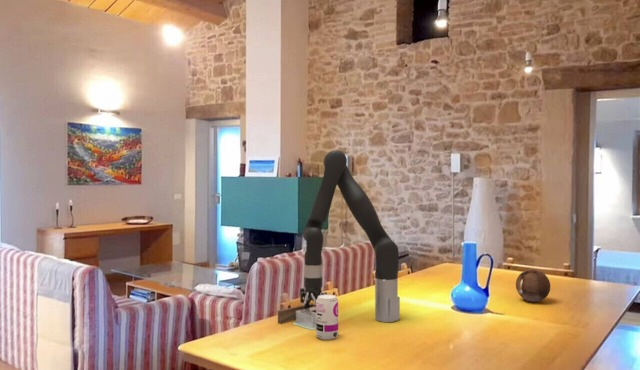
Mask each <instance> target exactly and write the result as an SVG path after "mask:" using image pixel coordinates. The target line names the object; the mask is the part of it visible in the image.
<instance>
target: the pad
mask: <svg viewBox="0 0 640 370" xmlns="http://www.w3.org/2000/svg"><path fill="white" fill-rule="evenodd" d="M291 325H292V326H296V327H300V328H303V329H306V330H309V331H316V330H315V329H316V328H313V329H312V328H309V327H306V326H303V325H299V324H296V322H292V323H291Z"/></svg>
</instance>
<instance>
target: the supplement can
mask: <svg viewBox="0 0 640 370" xmlns="http://www.w3.org/2000/svg"><path fill="white" fill-rule="evenodd" d="M315 331H316V337H317V338H318V339H320V340H324V341H329V340H330V341H331V340H334V339H337V337H338V336H339V299H338V297H337V295H334V294H328V293H327V294H326V295H319V296H318V298H317V300H316V330H315Z"/></svg>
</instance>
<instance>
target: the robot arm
mask: <svg viewBox="0 0 640 370" xmlns="http://www.w3.org/2000/svg"><path fill="white" fill-rule="evenodd" d="M347 163H348V159H347V156H346V154H345V153H344V152H343V151H341V150H338V149H334V150H330V151H329V152H328V153H326V154H325V156H324V159H323V166H324V171H323V176H322V179H321V183H320V186H319V189H318V191H317V193H316V196H315V198H314V201H313V203H312V204H313V205H312V207H311V212H310V215H309V217H308V219H307V222H306V225H305V227H304V229H303V235H302V236H303V239H304V240H305V244H306V250H305V252H304V268H303V286H304V287H301V288H299V292H300V293H299V294H300V296H299V299H300V301H299V302H300V303H301V304H302V305H304V309H307V308H310V305H309V304H310V303H311V301H312V302H313V303H314V304H316V300H317V298H318V296H319V295H326V294H328V292H322V288H323V266H322V265H323V255H322V252H323V246H324V245H323V244H324V234H323V232H322V229H323V226H324V223H326V221H327V219H328V216H329V213H330V210H331V208H332V207H331V206H332V203H333V199H334V196H335V195H334V194H335V192H336V188H337V187H338V189H339V191H340V194H341V196H342V198H343V199H344V201H345V203H346V205H347V207H348V209H349V211H350V212H351V214H352V216H353V217H354V220H355V221H356V223H358V225H359V226H360V228H361V229H362V230H363V232H365V235H366V236H367V238H368V240H369V242H370V244H371V247H372V248H373V251H374V254H375V271H374V298H375V299H374V301H375V302H374V306H375V307H374V309H375V310H374V311H375V312H374V313H375V314H374V316H375V320H376V321H378V322H381V323H394V322H397V321H400V320H401V319H400V318H401V317H400V315H401V313H400V312H401V309H400V306H401V300H400V296H398V294H399V293H398V288H399V287H398V284H399V282H398V280H399V279H398V276H399V275H398V274H399V262H400V261H399V247H398V245H397V244H396V243H395V241H393V239H392V238H391V237H390V236H389V234H388V233H387V232H386V230H385V228H383V225H382V223H381V222H380V219H379V215H378V214H377V213H378V212H377V211H376V209H375V206H374V205H373V203H372V201H371V200H370V198H369V196H368V195H367V193H366V192H365V191H364V189H363V188H362V187H361V185H360V184H359V183H358V182H357V180H355V178H354V176H353V175H352V173H351V171H350V170H349V167H348V165H347Z"/></svg>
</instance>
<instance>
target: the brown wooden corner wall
mask: <svg viewBox="0 0 640 370" xmlns="http://www.w3.org/2000/svg"><path fill="white" fill-rule="evenodd" d="M309 305H310V308H311V307H316V304H315V303H314V302H310V303H309ZM302 309H304V304H301V305H298V306H293V307H288V308H284V309H279V310H277V323H278V324H280V325H281V324H285V323H289V322H294V321H296V311H298V310H302Z"/></svg>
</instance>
